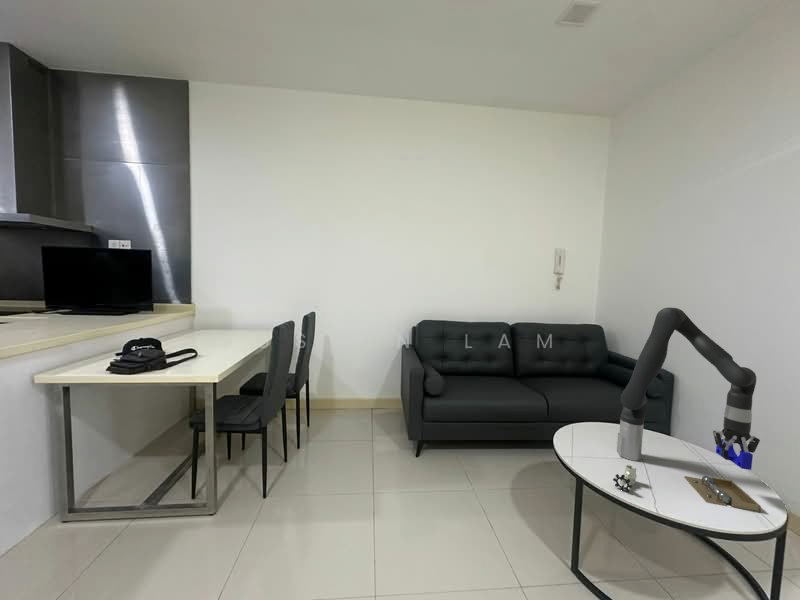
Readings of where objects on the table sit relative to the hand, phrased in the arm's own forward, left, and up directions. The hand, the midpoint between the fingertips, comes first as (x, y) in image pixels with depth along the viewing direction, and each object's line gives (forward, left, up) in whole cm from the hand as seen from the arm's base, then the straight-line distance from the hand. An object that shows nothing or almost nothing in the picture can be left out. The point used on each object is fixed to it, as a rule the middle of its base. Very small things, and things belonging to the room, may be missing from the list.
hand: (733, 459), depth 132 cm
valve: (-38, -8, -15) cm, 42 cm away
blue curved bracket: (0, 0, -1) cm, 1 cm away
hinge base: (-3, 0, -15) cm, 15 cm away
